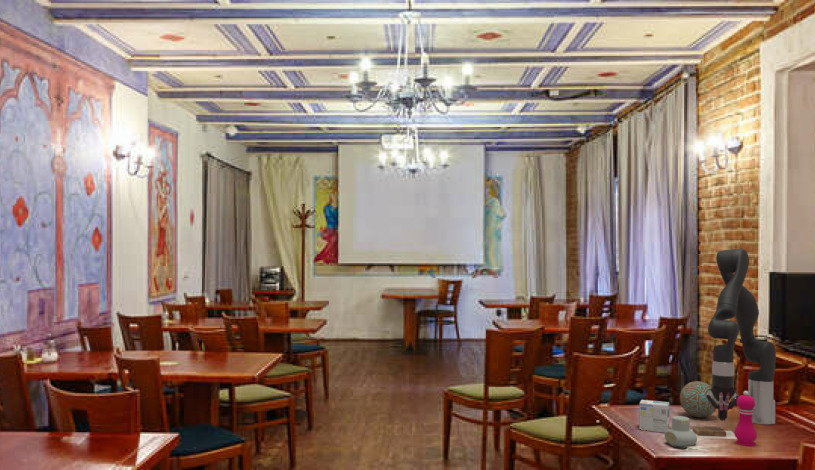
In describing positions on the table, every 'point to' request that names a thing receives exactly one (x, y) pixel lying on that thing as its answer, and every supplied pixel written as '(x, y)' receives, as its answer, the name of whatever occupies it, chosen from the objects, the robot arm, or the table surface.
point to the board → (728, 436)
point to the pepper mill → (745, 421)
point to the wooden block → (709, 431)
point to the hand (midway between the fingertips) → (722, 419)
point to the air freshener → (680, 433)
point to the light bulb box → (654, 416)
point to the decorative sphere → (697, 399)
